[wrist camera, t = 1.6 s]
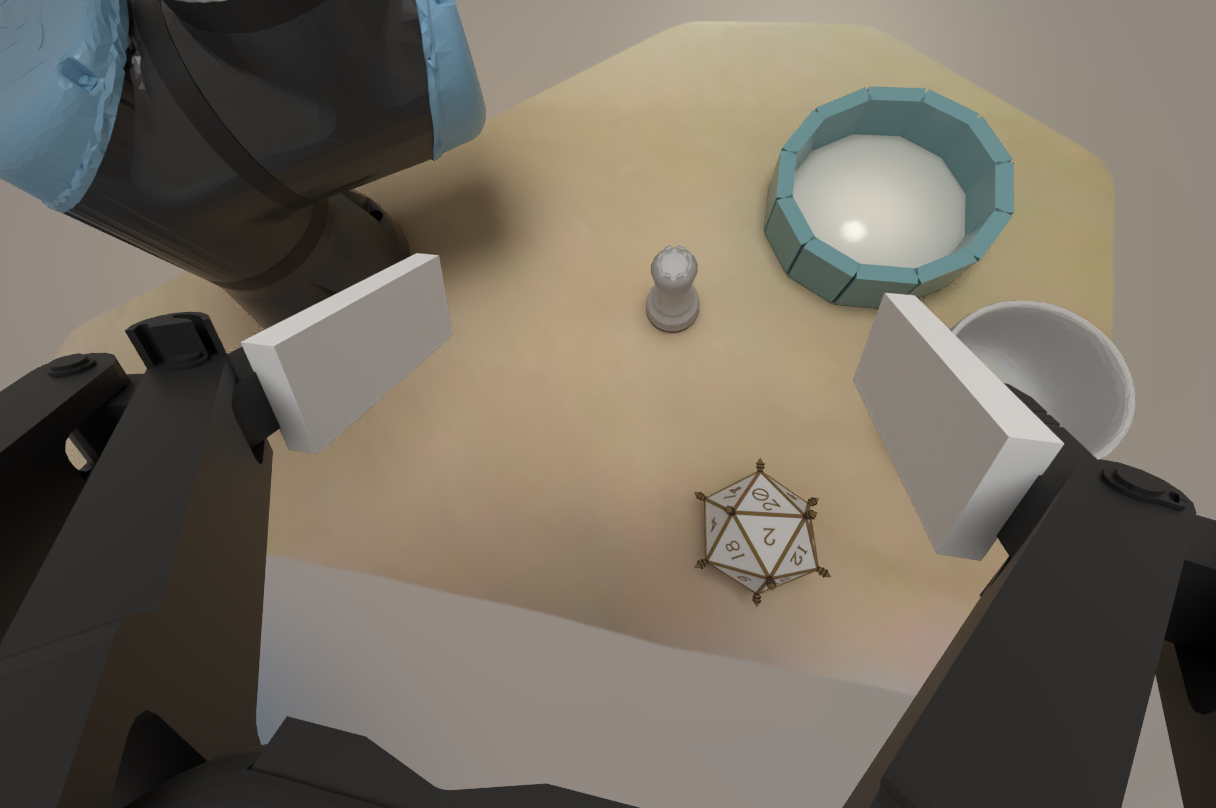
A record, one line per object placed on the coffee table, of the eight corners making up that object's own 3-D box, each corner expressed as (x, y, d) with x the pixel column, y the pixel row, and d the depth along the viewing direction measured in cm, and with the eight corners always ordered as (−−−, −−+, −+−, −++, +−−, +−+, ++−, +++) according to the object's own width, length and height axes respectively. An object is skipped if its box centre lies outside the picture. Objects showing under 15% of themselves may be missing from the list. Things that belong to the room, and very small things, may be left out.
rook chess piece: (694, 280, 40) (701, 226, 32) (703, 328, 39) (713, 285, 31) (642, 289, 40) (637, 238, 33) (650, 337, 39) (646, 297, 32)
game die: (716, 522, 39) (651, 478, 33) (811, 476, 36) (761, 417, 30) (756, 634, 33) (686, 607, 27) (874, 590, 30) (828, 548, 24)
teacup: (858, 364, 37) (910, 327, 29) (995, 322, 36) (1085, 273, 29) (935, 540, 34) (1017, 552, 26) (1087, 497, 33) (1217, 496, 25)
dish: (757, 296, 39) (768, 270, 35) (775, 127, 42) (787, 84, 38) (972, 317, 37) (1013, 292, 32) (974, 136, 40) (1013, 90, 35)
